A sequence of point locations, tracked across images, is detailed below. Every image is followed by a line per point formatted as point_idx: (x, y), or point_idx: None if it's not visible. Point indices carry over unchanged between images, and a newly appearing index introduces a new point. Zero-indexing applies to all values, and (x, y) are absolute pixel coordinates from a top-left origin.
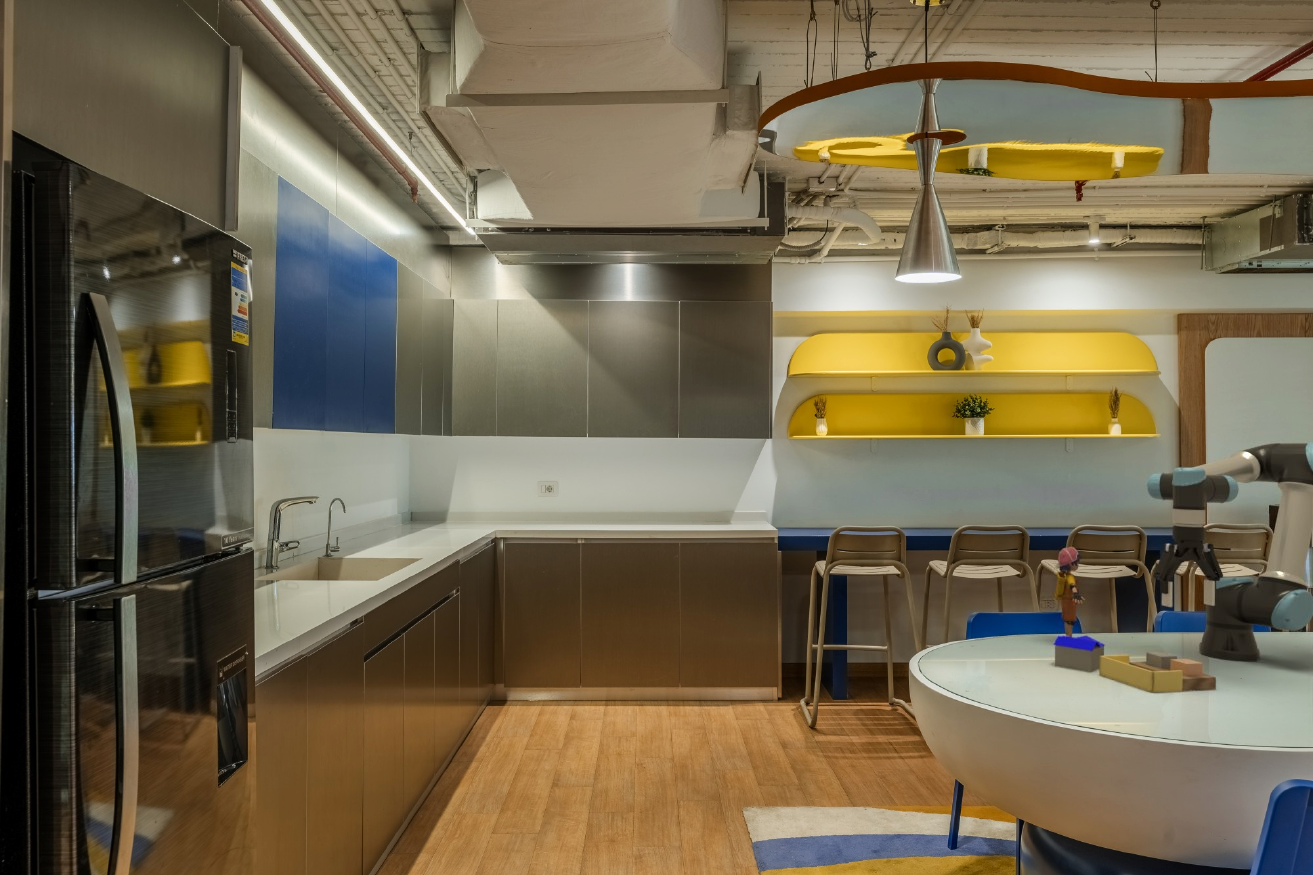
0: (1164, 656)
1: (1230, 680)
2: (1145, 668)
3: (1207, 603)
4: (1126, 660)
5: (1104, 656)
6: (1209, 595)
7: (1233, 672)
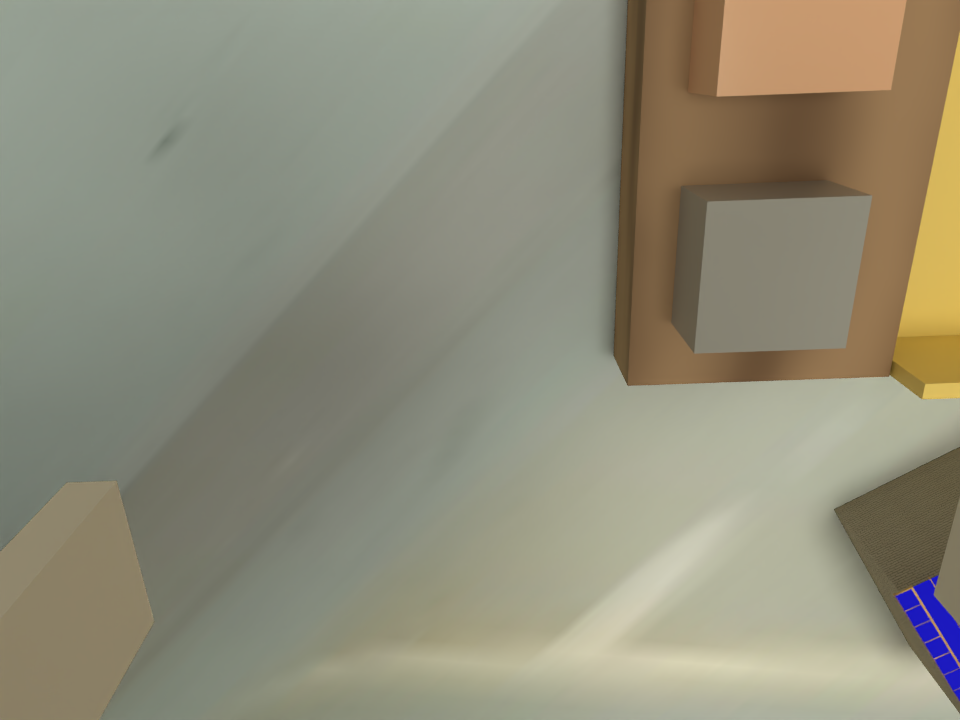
0: (833, 201)
1: (294, 91)
2: (916, 218)
3: (132, 575)
4: (929, 367)
5: None
6: (37, 659)
7: (105, 290)
